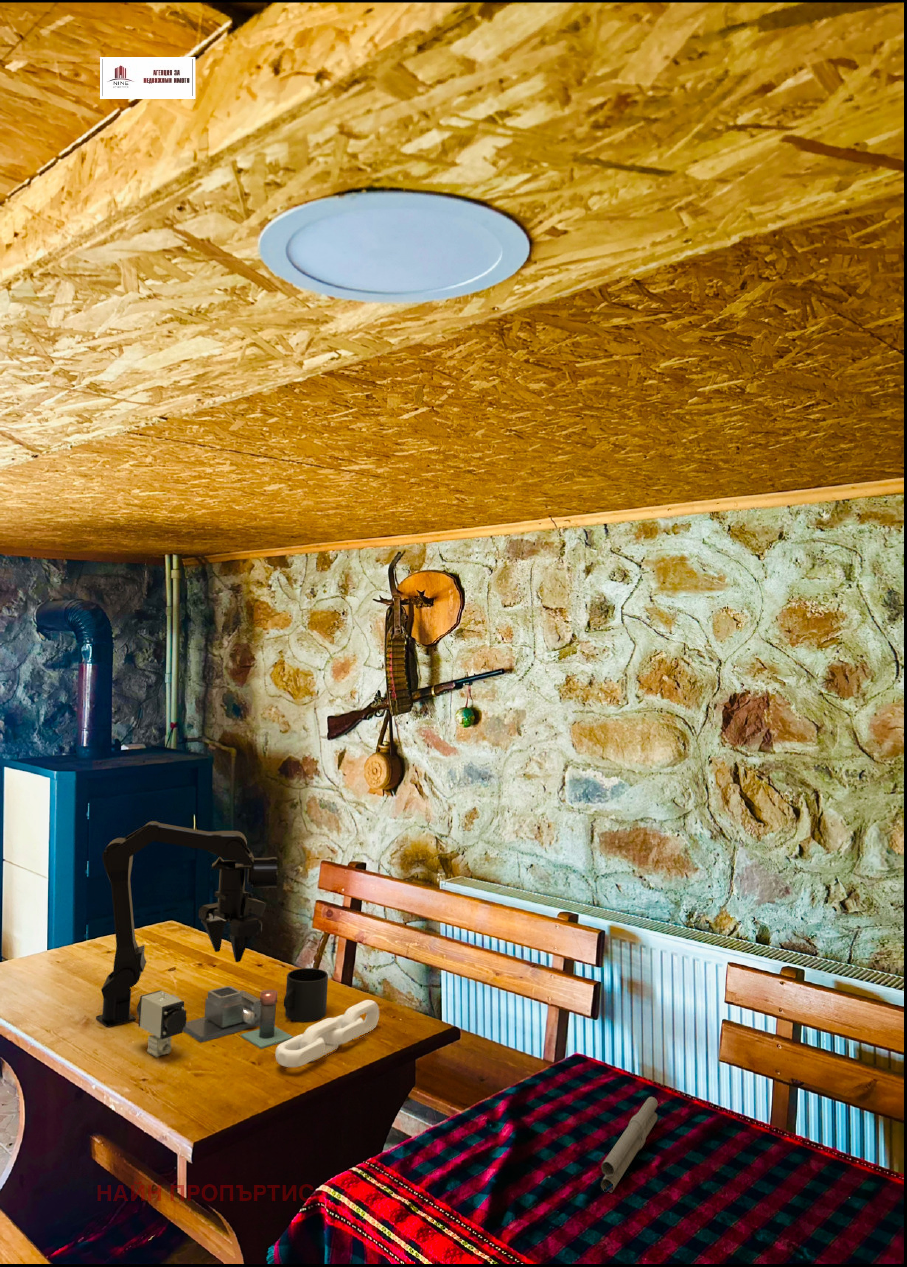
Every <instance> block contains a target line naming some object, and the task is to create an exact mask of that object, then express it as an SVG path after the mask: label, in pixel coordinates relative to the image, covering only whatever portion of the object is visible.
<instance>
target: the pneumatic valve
mask: <svg viewBox="0 0 907 1267" xmlns="http://www.w3.org/2000/svg"><path fill="white" fill-rule="evenodd" d="M136 1013H137V1015H138V1028H140V1029H142V1030H145V1031H146V1032H148V1033H150V1034H151V1035H148V1037H147V1045H148V1048H147V1050H146V1052H147V1053H148V1054H150V1055H151V1056H153V1057H155V1058H159V1057H160V1056H164V1055H166V1054H167V1055H170V1053H171V1052H172V1044H171V1042H172V1039H173V1038H172V1037H173V1036H177V1035H180V1034H182V1033H183V1032H184V1031H183V1028H184V1027H185V1026H186V1022H187V1020H188V1018H187V1010H185V1001H184V1000H182V999H180V998H179V996H177V995H176V994H169V993H167V992H165V991H163V990H161V989H160V990H157V991H153V992H149V993H146V994H142V995H140V996H139V1002H138V1003H137V1006H136Z"/></svg>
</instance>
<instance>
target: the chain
mask: <svg viewBox="0 0 907 1267" xmlns="http://www.w3.org/2000/svg"><path fill="white" fill-rule="evenodd" d="M364 1014H366V1016H365V1018H364V1019H363V1018H362V1017H361V1015H364ZM379 1018H380V1008H379V1005H378V1004H377V1002H376V1001H374V1000H371V999H364V1000H362V1001H360V1002H359V1003H356V1004H354V1005H351V1007H348V1008H347V1009H346V1010H345V1012H344V1014H341V1015H338V1016H335V1017H327V1018H325V1019H322V1020H321V1021H318V1022H317V1023H314V1024H312V1025H310V1026H308V1027H307V1028H306V1029H305V1031H304V1032H303V1033H301V1034H298V1035H295V1036H293V1038H291V1039H289V1040H287V1041H284V1042H281V1043H279V1044H278V1045H277V1047H276V1048H275V1053H274V1054H275V1060H276V1062H277V1064H279V1065H280V1066H283V1067H285V1068H298V1067H302V1066H304V1065H306V1064H308V1063H310V1062H315V1061H314V1060H316V1059H318V1058H320V1057H322V1056H323V1055H326V1054H327V1053H329V1052H332V1051H333V1050H335V1049H336V1050H337V1049H338V1048H339V1046H340V1045H344V1044H346V1043H349V1042H350V1041H353V1040H352V1039H354V1038H357V1037H359V1036H360V1035H363V1034H365V1033H368V1032H369V1031H371V1030H373V1029H374V1028H376V1027H377V1026H378V1023H379ZM374 1030H375V1029H374ZM374 1030H373V1031H374ZM368 1034H369V1033H368ZM336 1050H335V1051H336ZM332 1053H333V1052H332ZM326 1056H327V1055H326Z"/></svg>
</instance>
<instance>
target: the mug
mask: <svg viewBox="0 0 907 1267" xmlns="http://www.w3.org/2000/svg"><path fill="white" fill-rule="evenodd" d="M328 982H329V974H328V972H327V971H325V970H324V969H319V968H313V967H310V968H309V967H303V968H302V967H301V968H297V969H294V970H290V971H289V972H288V973H287V975H286V984H285V985H286V987H285V988H286V990H285V995H284V998H283V1008H284V1014H285V1018H287V1020H288V1019H289V1020H291V1021H294V1022H299V1023H309V1022H310V1021H311V1022H316V1021H318V1020H320V1019H323V1018H324V1017H325V1016H326V1015H327V1002H328ZM311 1022H310V1023H311Z"/></svg>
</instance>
